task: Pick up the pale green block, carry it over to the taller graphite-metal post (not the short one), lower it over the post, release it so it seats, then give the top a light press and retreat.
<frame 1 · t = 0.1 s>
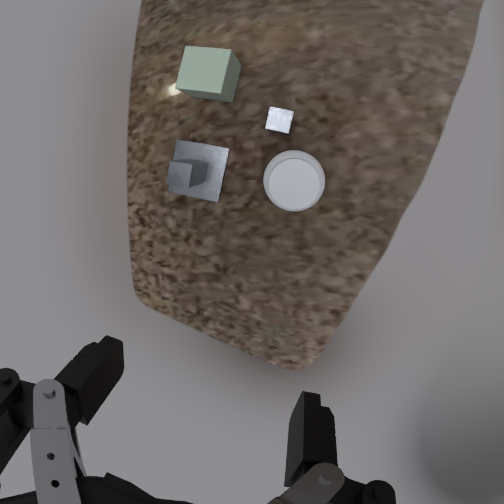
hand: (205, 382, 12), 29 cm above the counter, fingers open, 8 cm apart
pill bottle: (293, 175, 37), on the counter
post on square base: (198, 170, 38), on the counter
pale green block: (217, 80, 34), on the counter
short post: (280, 123, 35), on the counter
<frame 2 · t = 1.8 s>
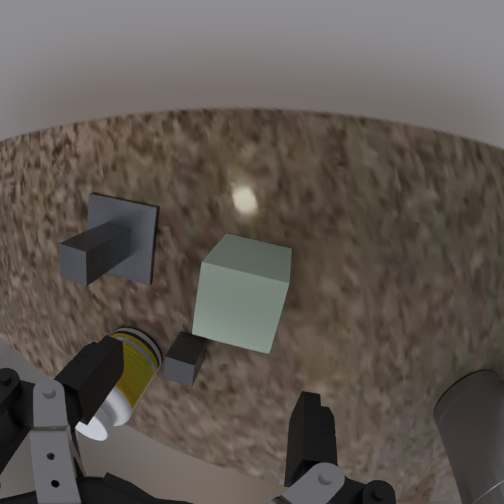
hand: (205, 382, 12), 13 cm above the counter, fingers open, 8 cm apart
pill bottle: (137, 349, 30), on the counter
post on square base: (120, 237, 26), on the counter
pale green block: (252, 271, 25), on the counter
short post: (192, 346, 28), on the counter
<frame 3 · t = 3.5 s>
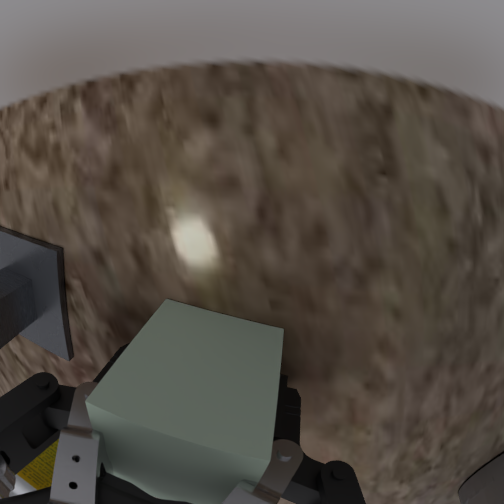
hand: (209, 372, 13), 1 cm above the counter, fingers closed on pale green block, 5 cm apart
pill bottle: (77, 424, 19), on the counter
post on square base: (25, 289, 14), on the counter
pale green block: (215, 360, 14), on the counter, touching gripper
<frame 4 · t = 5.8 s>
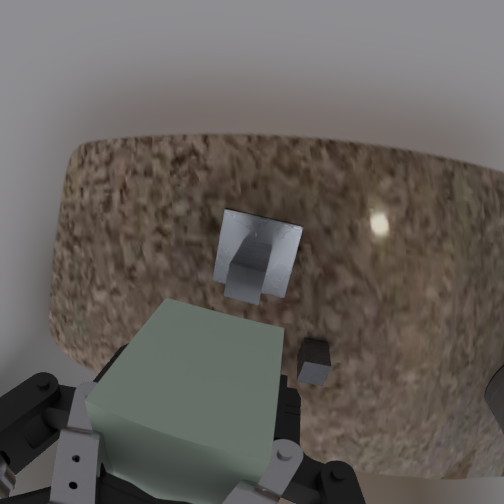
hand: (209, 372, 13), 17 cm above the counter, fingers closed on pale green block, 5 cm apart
post on square base: (256, 253, 29), on the counter
pale green block: (215, 359, 14), point 16 cm above the counter, touching gripper
short post: (312, 349, 31), on the counter
when the fingers open (4 cm above the counter, at t = 8.3 s): pale green block drops 2 cm, resting on post on square base.
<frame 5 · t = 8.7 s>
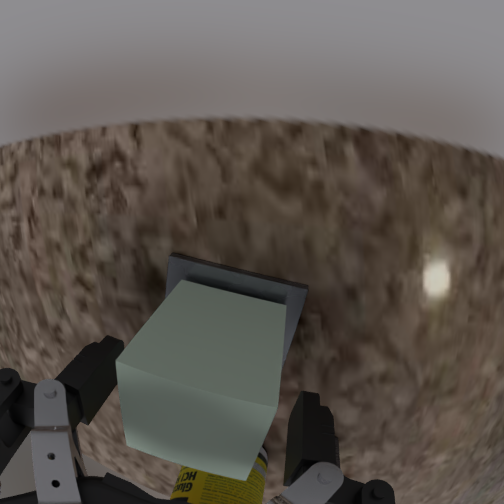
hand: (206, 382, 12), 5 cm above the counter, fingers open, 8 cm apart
pill bottle: (229, 449, 21), on the counter
post on square base: (227, 326, 17), on the counter
pale green block: (224, 336, 16), point 1 cm above the counter, touching post on square base
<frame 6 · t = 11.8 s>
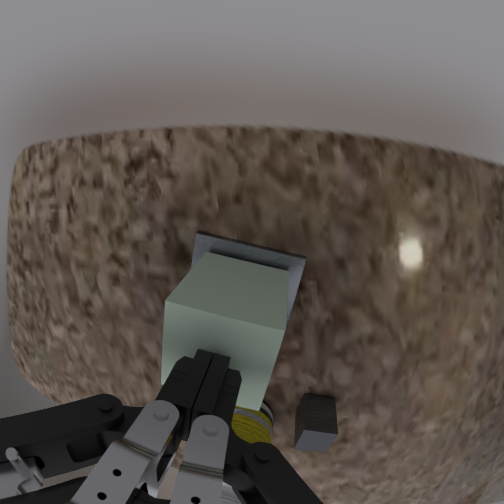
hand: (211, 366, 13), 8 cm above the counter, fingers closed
pill bottle: (239, 412, 25), on the counter
post on square base: (241, 292, 21), on the counter
pale green block: (239, 298, 20), point 1 cm above the counter, touching post on square base
short post: (314, 405, 23), on the counter
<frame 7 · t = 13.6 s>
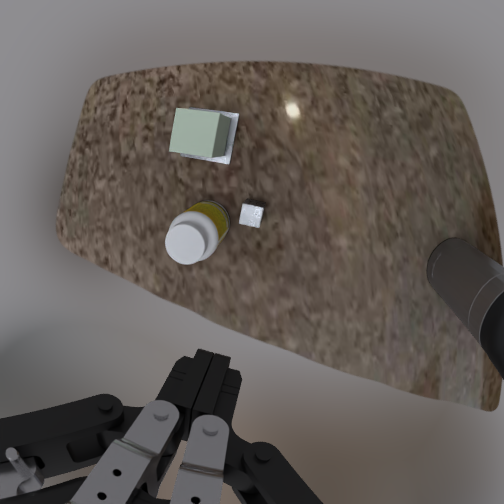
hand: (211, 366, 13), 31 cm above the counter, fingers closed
pill bottle: (209, 220, 44), on the counter
post on square base: (209, 135, 40), on the counter
pale green block: (208, 134, 39), point 1 cm above the counter, touching post on square base
short post: (254, 209, 42), on the counter
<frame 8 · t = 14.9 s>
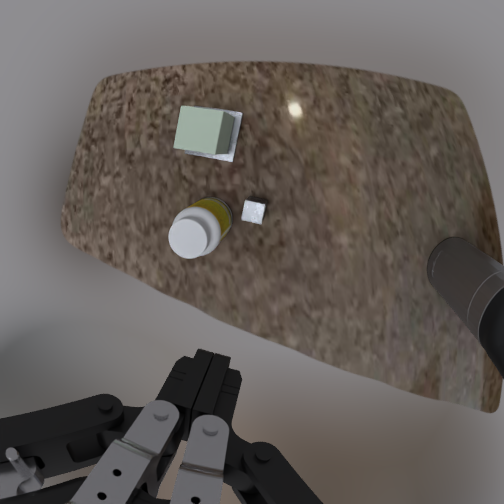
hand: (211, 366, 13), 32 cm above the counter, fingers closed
pill bottle: (212, 217, 45), on the counter
post on square base: (213, 133, 41), on the counter
pale green block: (212, 132, 40), point 1 cm above the counter, touching post on square base
short post: (256, 206, 43), on the counter
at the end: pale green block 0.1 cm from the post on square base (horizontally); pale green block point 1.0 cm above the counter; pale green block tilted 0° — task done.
